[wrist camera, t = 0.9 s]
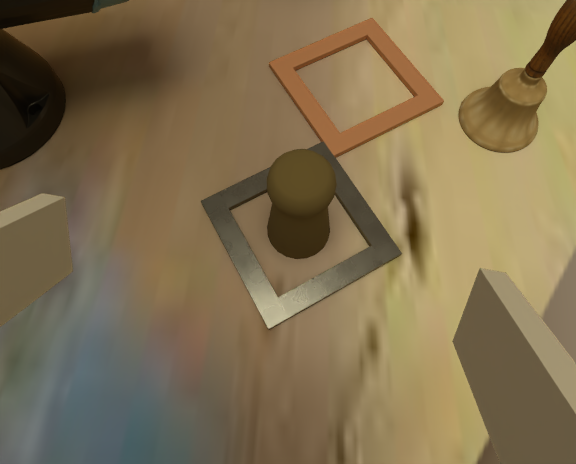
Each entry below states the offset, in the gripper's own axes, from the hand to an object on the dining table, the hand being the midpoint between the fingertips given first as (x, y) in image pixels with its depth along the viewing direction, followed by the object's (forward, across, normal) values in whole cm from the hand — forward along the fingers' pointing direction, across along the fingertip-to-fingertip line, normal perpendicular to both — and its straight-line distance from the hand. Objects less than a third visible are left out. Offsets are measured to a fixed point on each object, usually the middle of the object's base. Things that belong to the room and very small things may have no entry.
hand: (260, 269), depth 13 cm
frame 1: (+37, +3, +4) cm, 37 cm away
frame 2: (+24, 0, -9) cm, 26 cm away
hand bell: (+36, +19, +3) cm, 41 cm away
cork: (+24, 0, -9) cm, 26 cm away
